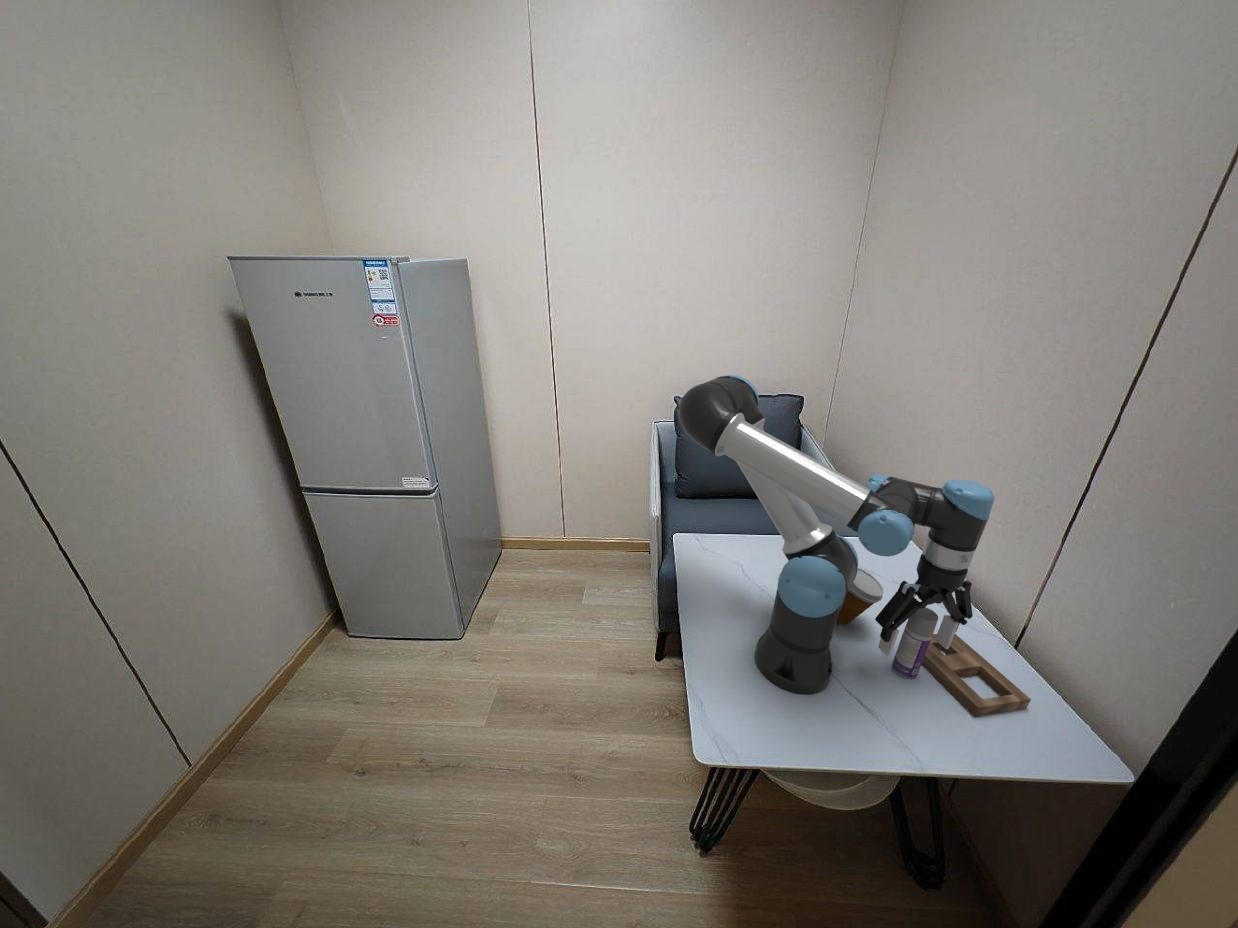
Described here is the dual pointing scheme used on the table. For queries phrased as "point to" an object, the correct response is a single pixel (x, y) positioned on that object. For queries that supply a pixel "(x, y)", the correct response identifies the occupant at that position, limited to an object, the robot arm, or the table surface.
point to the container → (914, 643)
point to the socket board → (970, 663)
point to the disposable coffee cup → (860, 597)
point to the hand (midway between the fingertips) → (913, 648)
